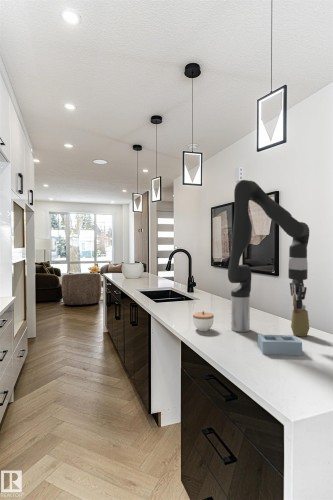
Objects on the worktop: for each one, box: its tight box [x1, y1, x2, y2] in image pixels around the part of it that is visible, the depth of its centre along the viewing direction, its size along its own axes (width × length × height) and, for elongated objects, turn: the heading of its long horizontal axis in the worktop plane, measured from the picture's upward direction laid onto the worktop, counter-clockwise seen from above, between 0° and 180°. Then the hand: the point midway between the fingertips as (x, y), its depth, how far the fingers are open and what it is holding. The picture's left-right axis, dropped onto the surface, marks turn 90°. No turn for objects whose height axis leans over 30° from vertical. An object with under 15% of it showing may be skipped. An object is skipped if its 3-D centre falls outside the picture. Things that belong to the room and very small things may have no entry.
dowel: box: [293, 291, 301, 313], centre depth 125 cm, size 3×3×10 cm
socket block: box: [257, 334, 303, 356], centre depth 118 cm, size 9×15×5 cm, turn 84°
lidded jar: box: [192, 310, 215, 332], centre depth 149 cm, size 11×11×9 cm
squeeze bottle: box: [290, 301, 310, 338], centre depth 138 cm, size 8×8×18 cm
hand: (297, 307), depth 125 cm, fingers closed on dowel, 3 cm apart
